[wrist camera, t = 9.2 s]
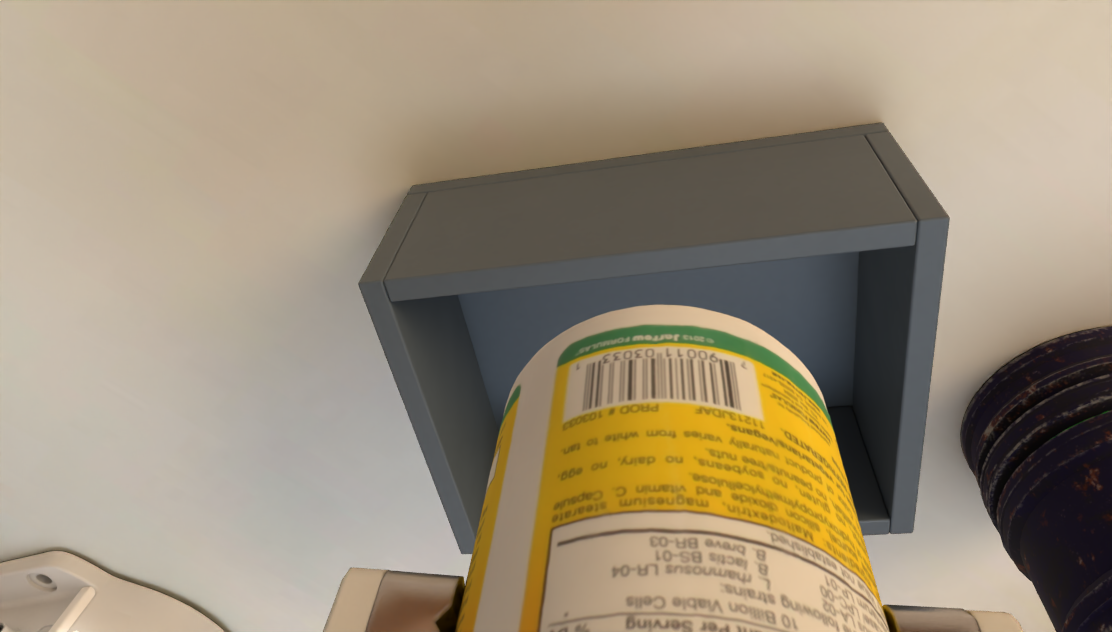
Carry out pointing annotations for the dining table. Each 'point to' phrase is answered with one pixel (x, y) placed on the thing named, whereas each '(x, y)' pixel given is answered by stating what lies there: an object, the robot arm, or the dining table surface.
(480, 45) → the dining table surface
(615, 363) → the supplement bottle
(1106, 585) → the dark barrel
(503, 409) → the box shelf
